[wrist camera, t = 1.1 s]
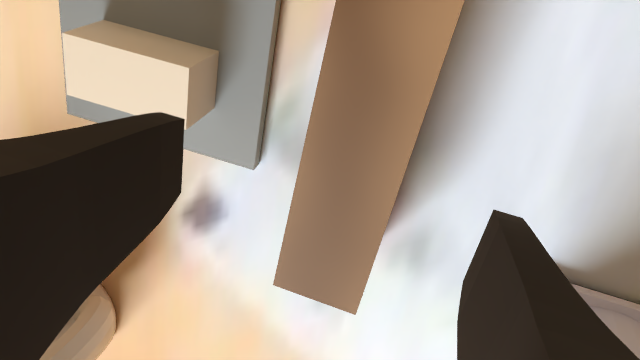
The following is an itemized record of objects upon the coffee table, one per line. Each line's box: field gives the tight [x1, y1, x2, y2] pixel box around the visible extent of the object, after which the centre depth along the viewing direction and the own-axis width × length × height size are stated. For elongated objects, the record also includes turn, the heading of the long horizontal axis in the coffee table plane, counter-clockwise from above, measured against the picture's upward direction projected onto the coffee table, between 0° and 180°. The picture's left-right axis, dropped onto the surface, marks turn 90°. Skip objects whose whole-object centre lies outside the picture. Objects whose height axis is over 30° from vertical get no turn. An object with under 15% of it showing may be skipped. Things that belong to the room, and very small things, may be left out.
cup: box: [40, 284, 116, 360], centre depth 26 cm, size 7×10×9 cm
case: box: [273, 0, 465, 315], centre depth 17 cm, size 3×14×5 cm, turn 168°
